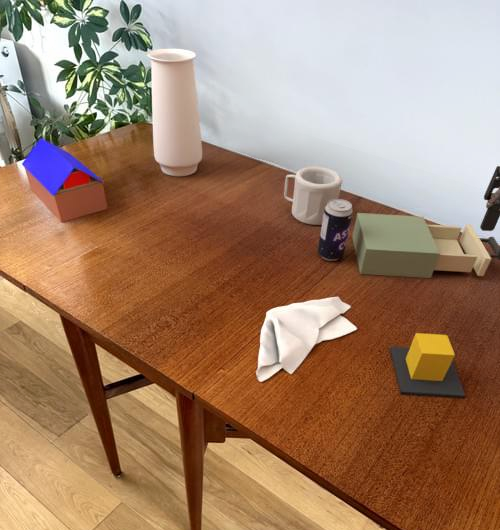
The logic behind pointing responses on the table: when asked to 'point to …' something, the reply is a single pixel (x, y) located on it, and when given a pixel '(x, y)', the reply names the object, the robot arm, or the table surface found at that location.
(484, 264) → the drawer
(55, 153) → the house
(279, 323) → the cloth
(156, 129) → the vase
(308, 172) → the mug
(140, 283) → the table surface
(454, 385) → the mat
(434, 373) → the yellow block
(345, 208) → the beverage can
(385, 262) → the cabinet
